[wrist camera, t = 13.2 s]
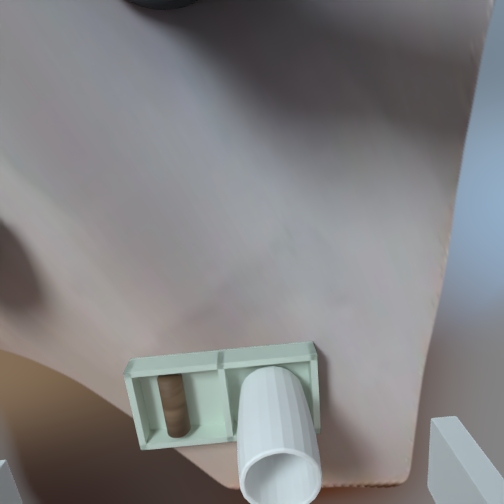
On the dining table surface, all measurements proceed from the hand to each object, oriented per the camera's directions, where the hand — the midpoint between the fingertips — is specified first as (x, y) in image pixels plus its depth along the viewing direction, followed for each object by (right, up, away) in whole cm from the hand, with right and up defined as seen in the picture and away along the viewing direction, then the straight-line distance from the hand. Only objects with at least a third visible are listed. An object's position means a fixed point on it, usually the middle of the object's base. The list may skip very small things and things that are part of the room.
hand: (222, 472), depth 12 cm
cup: (+3, -11, +37) cm, 38 cm away
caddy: (-2, -11, +37) cm, 39 cm away
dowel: (-8, -12, +37) cm, 39 cm away
